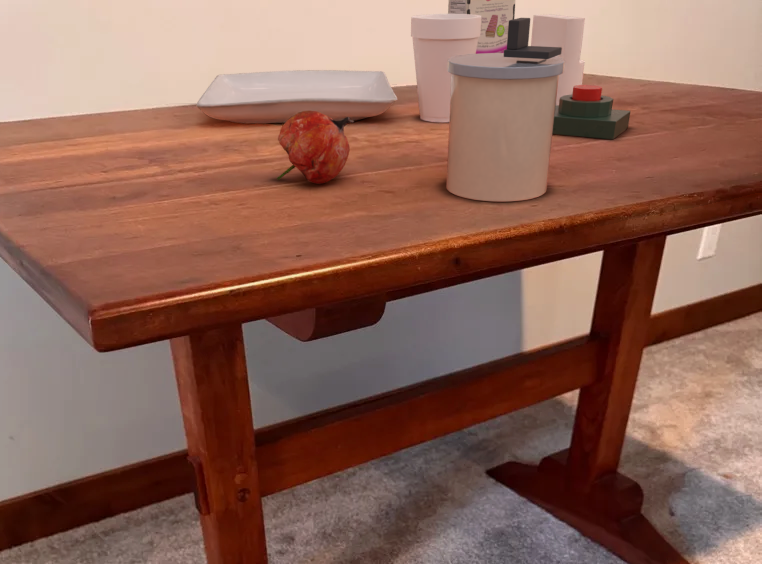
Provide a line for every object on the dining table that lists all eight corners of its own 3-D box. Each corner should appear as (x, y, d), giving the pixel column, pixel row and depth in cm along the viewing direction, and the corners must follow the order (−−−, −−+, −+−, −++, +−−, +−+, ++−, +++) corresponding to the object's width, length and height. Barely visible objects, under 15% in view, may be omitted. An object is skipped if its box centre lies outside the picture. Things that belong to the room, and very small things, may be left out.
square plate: (219, 96, 132) (217, 71, 130) (384, 93, 132) (384, 68, 130) (197, 129, 108) (194, 98, 106) (398, 125, 109) (398, 95, 107)
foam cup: (489, 117, 113) (496, 15, 106) (445, 127, 107) (450, 20, 101) (439, 109, 119) (442, 12, 112) (395, 118, 114) (396, 16, 107)
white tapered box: (508, 101, 125) (515, 15, 119) (556, 96, 128) (565, 13, 122) (541, 110, 117) (550, 20, 111) (592, 105, 120) (603, 17, 114)
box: (628, 128, 106) (632, 96, 104) (613, 139, 100) (618, 105, 98) (554, 121, 110) (557, 91, 108) (535, 132, 104) (538, 100, 102)
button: (603, 100, 103) (605, 85, 103) (596, 104, 101) (598, 89, 100) (576, 98, 105) (577, 84, 104) (568, 102, 102) (569, 88, 101)
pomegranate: (283, 212, 82) (357, 155, 77) (241, 150, 81) (314, 89, 76) (309, 201, 88) (379, 147, 84) (271, 144, 87) (340, 86, 82)
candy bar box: (489, 84, 140) (496, -22, 131) (510, 87, 136) (519, -22, 128) (443, 91, 134) (447, -20, 125) (464, 94, 130) (470, -19, 122)
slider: (561, 54, 74) (565, 18, 72) (548, 59, 71) (551, 21, 69) (517, 52, 76) (520, 17, 74) (503, 57, 73) (505, 20, 71)
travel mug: (563, 181, 82) (579, 54, 76) (530, 208, 74) (544, 68, 68) (466, 170, 87) (473, 49, 81) (424, 194, 79) (429, 62, 73)
